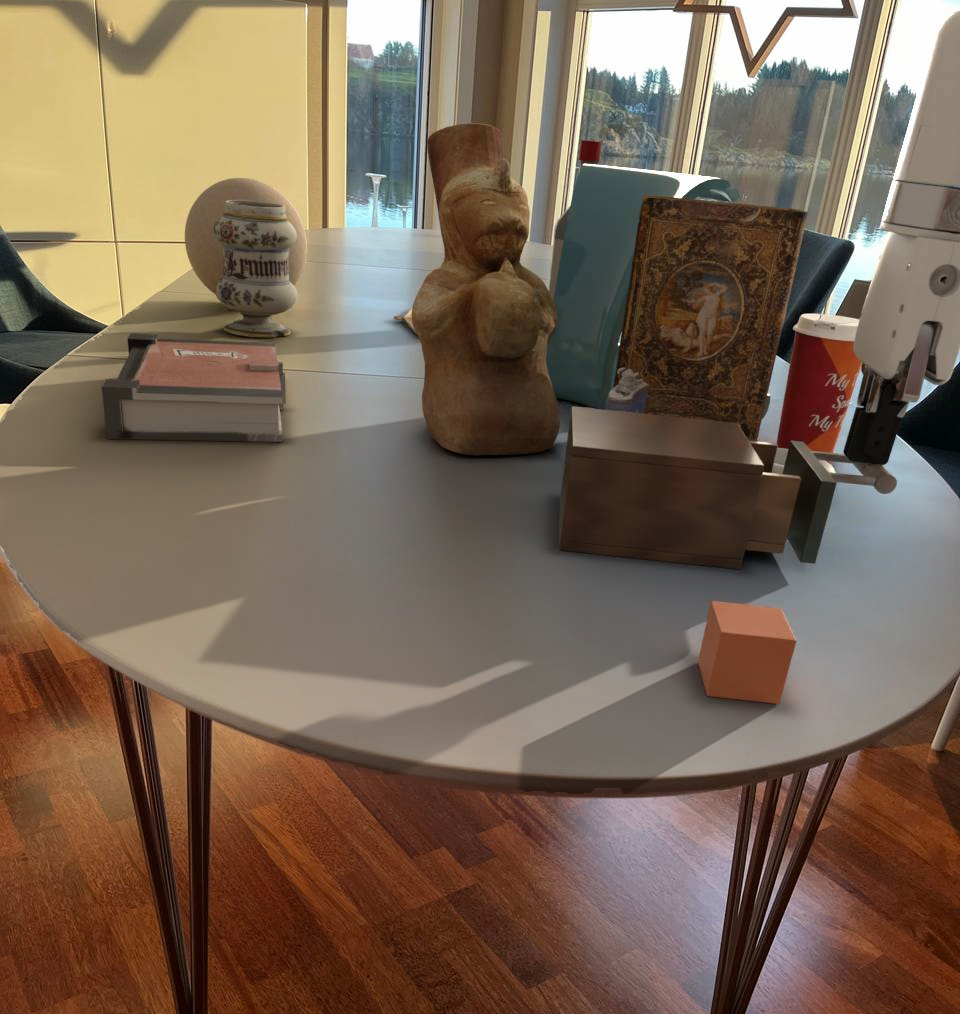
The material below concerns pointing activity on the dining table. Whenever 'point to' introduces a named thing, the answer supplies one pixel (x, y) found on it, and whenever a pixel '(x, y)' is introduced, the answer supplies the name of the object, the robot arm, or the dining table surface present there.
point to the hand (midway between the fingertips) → (864, 459)
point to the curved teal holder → (605, 272)
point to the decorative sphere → (211, 206)
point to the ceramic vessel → (484, 307)
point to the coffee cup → (819, 381)
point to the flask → (628, 393)
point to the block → (746, 652)
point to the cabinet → (658, 488)
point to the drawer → (802, 498)
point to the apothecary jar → (255, 266)
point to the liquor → (587, 155)
